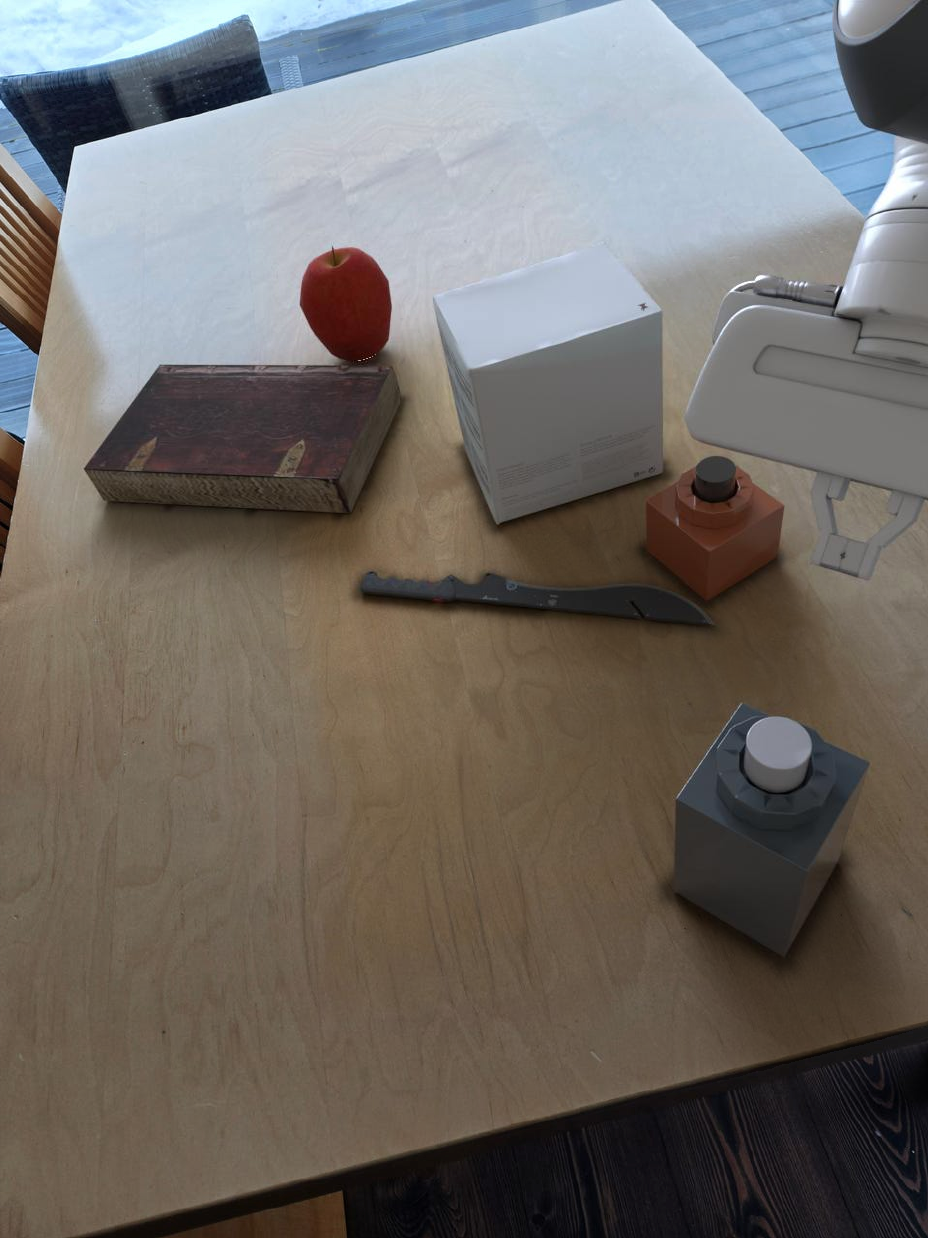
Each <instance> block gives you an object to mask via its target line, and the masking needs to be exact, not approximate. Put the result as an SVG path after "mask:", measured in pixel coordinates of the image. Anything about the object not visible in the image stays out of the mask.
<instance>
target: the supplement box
mask: <svg viewBox="0 0 928 1238" xmlns="http://www.w3.org/2000/svg"><path fill="white" fill-rule="evenodd" d="M432 304H433V309H434V314H435V319H436V323H437V327H438V332H439V337H440V342H441V347H442V351H443V355H444V360H445V365H446V369H447V375H448V377H449V382H450V387H451V391H452V396H453V400H454V404H455V409H456V413H457V414H456V415H457V418H458V423H459V427H460V432H461V435H462V441H463V446H464V451H465V453H466V456H467V458H468V460H469V463H470V465H471V467H472V470H473V473H474V475H475V477H476V480H477V482H478V484H479V487H480V490H481V491H482V494H483V496H484V498H485V501H486V504H487V505H488V508H489V510H490V513H491V515H492V517H493V520H494V522H495V524H496V525H500V524H501V523H504V522H507V521H511V520H514V519H517V518H521V517H524V516H528V515H531V514H534V513H537V512H540V511H543V510H547V509H550V508H554V507H557V506H560V505H563V504H567V503H570V502H574V501H577V500H579V499H583V498H587V497H589V496H592V495H595V494H599V493H602V492H605V491H609V490H613V489H615V488H618V487H622V486H625V485H629V484H631V483H635V482H639V481H641V480H644V479H648V478H651V477H654V476H657V475H660V474H662V473H664V394H663V393H664V390H663V389H664V386H663V385H664V381H663V378H664V375H663V374H664V373H663V372H664V371H663V368H664V367H663V365H664V364H663V359H664V357H663V309H661V307H660V305H658V304H657V303H656V301H654V299H653V297H651V295H649V293H648V292H647V290H645V288H644V287H643V286H642V284H641V283H640V282H639V280H638V279H637V278H636V277H635V276H634V274H633V273H632V272H631V271H630V270H629V269H628V267H627V265H625V264H624V263H623V261H622V260H621V259H620V258H619V257H618V256H617V254H616V253H615V252H614V251H613V250H612V248H611V247H610V246H609V245H608V243H606V241H601V242H599V243H596V244H593V245H590V246H586V247H584V248H581V249H578V250H574V251H571V252H569V253H566V254H563V255H560V256H556V257H553V258H550V259H546V260H544V261H540V262H537V263H534V264H530V265H527V266H524V267H521V268H517V269H515V270H512V271H509V272H506V273H503V274H499V275H496V276H492V277H489V278H486V279H482V280H480V281H477V282H474V283H469V284H467V285H463V286H460V287H457V288H454V289H451V290H447V291H443V292H441V293H437V294H434V295H432Z"/></svg>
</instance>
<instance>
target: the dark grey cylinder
mask: <svg viewBox="0 0 928 1238" xmlns="http://www.w3.org/2000/svg"><path fill="white" fill-rule="evenodd" d="M695 465H696V467H695V489H694V491H695V494H696V496H697V497H698V498H699V499H700V500H702V501H704V502H709V503H719V502H725V501H727V500H729V499H730V498H731V497H732V496H733V494H734V491H735V479H736V466H737V465H736V464H735V462H734V461H733V460H731V459H730V458H728V457H726V456H721V455H709V456H706V457H704V458H702V459H700V460H699V461H698V462H697V463H696V464H695ZM735 465H736V466H735Z"/></svg>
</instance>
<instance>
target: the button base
mask: <svg viewBox="0 0 928 1238" xmlns="http://www.w3.org/2000/svg"><path fill="white" fill-rule="evenodd" d="M696 465H697V464H695V465H694V466H692V467H690V468H688V469H686V470H684V471H683V472H682V473H681V474H680V476H679V478H678V480H677V481H675V482H674V483H672V484H671V485H669V486H667V487H666V488H664V489H662V490H660V491H658V492H657V493H655V494H654V495H652V496H650V497H648V498H647V499H645V537H646V539H645V540H646V541H645V542H646V543H645V544H646V545H645V546H646V551H647V552H648V553H650V554H651V555H652V556H653V557H654V558H655V559H656V560H657V561H658V562H660V563H661V564H662V565H663V566H664V567H666V568H667V569H668V570H669V571H670V572H671V573H672V574H674V575H675V576H676V577H677V578H679V580H681V581H682V582H683V583H685V585H686V586H688V587H689V588H690V589H691V590H693V591H694V592H695V593H696V594H697V595H698V596H699V597H701V599H703V600H704V601H705V602H708V601H709V600H711V599H712V598H715V597H716V596H718V595H720V594H721V593H722V592H724V591H726V590H727V589H729V588H730V587H732V586H733V585H735V584H737V583H739V582H740V581H741V580H743V579H745V578H747V577H748V576H750V575H751V574H753V573H754V572H756V571H758V570H759V569H761V568H762V567H764V566H765V565H767V564H769V563H770V562H771V561H773V560H775V559H776V558H778V556H779V550H780V542H781V534H782V529H783V527H782V526H783V519H784V514H785V513H784V512H785V504H783V503H782V502H781V501H779V500H778V499H776V498H775V497H774V496H772V495H771V494H769V493H768V492H766V491H765V490H764V489H763V488H761V487H759V486H758V485H757V484H755V483H754V482H753V480H752V477H751V475H750V474H749V473H748V472H746V471H745V470H743V469H742V468H741V467H739V466H738V465H736V464H735V466H736V479H735V491H734V494H733V496H732V497H731V498H730V499H729V500H727V501H725V502H719V503H709V502H704V501H702V500H700V499H699V498H698V497H697V496H696V494H695V491H694V489H695V467H696Z"/></svg>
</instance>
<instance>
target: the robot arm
mask: <svg viewBox="0 0 928 1238" xmlns="http://www.w3.org/2000/svg"><path fill="white" fill-rule="evenodd" d="M832 32H833V33H832V34H833V39H834V46H835V47H834V48H835V52H836V58H837V62H838V67H839V70H840V74H841V77H842V81H843V84H844V87H845V89H846V91H847V94H848V97H849V100H850V102H851V105H852V107H853V109H854V112H855V113H856V116H857V119H858V120H859V122H860V123H861V124H862V125H863V126H864V127H866V128H868V129H870V130H874V131H878V132H882V133H886V134H889V135H893V136H894V142H893V144H894V145H893V159H892V165H891V170H890V173H889V175H888V179H887V181H886V182H885V185H884V187H883V189H882V191H880V192H881V193H880V194H879V196H878V197H877V199H876V200H875V201H874V202H873V204H872V206H871V208H870V209H869V211H868V213H867V216H866V218H865V220H864V224H863V227H862V230H861V233H860V237H859V239H858V241H857V245H856V248H855V251H854V254H853V257H852V260H851V263H850V266H849V269H848V271H847V274H846V278H845V281H844V284H843V285H836V284H828V283H821V282H816V281H799V280H798V281H796V280H790V279H784V277H781V276H778V275H774V274H773V275H771V274H761V275H760V274H759V275H758V276H757V277H756V278H755V279H754V280H750V281H745V282H742V283H740V284H738V285H736V286H735V287H733V288H732V289H731V290H730V291H729V292H727V294H726V295H725V296H724V297H723V299H722V302H721V304H720V306H719V308H718V312H717V316H716V319H715V323H714V325H713V328H712V336H711V337H712V344H713V347H712V349H711V350H710V353H709V355H708V357H707V359H706V360H705V363H704V365H703V367H702V369H701V372H700V373H699V376H698V378H697V381H696V384H695V386H694V388H693V391H692V393H691V396H690V399H689V401H688V404H687V407H686V409H685V412H684V413H685V414H684V422H685V424H686V427H687V430H688V432H689V434H690V437H691V438H692V439H693V440H695V441H697V442H699V443H702V444H704V445H708V446H712V447H715V448H719V449H724V450H728V451H731V452H735V453H739V454H743V455H747V456H752V457H755V458H759V459H762V460H767V461H771V462H775V463H779V464H783V465H787V466H791V467H794V468H799V469H802V470H806V471H810V472H813V473H816V475H815V478H814V481H813V484H812V487H811V488H810V489H811V490H810V498H811V502H812V506H813V511H814V517H815V521H816V525H817V529H818V530H819V531H820V532H819V534H818V537H817V539H816V543H815V546H814V548H813V552H812V554H811V558H810V564H811V565H814V566H816V567H820V568H823V569H827V570H831V571H835V572H838V573H842V574H844V575H847V576H851V577H853V578H858V579H862V580H864V581H870V580H871V578H872V576H873V574H874V571H875V569H876V566H877V564H878V560H879V557H880V555H881V552H882V549H885V548H887V547H888V546H889V545H890V544H891V543H893V542H894V541H895V540H897V538H898V537H900V536H901V535H903V534H904V533H905V532H906V531H907V530H908V529H910V528H911V527H912V526H913V525H915V523H916V522H918V518H919V516H920V513H921V510H922V507H923V505H924V503H925V501H928V0H833V6H832ZM748 290H752V293H748V292H745V291H748ZM851 482H854V483H856V484H857V483H858V484H861V485H865V486H870V487H874V488H878V489H881V490H885V491H888V492H891V493H890V494H889V495H890V496H889V498H888V501H887V504H886V506H885V510H884V511H885V512H886V513H887V514H888V515H889V514H890V515H892V516H894V517H893V518H892V519H891V520H890V521H888V523H887V524H885V525H884V526H883V527H882V528H881V529H879V530H878V531H877V532H876V533H875V534H874V535H873V536H872V537H870V538H869V539H868V540H867V541H866V542H864V541H860V540H856V539H852V538H849V537H845V536H843V535H839V530H838V524H837V519H836V513H835V511H834V505H833V500H836V501H839V502H842V501H844V500H845V497H846V495H847V492H848V490H849V487H850V483H851Z"/></svg>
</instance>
